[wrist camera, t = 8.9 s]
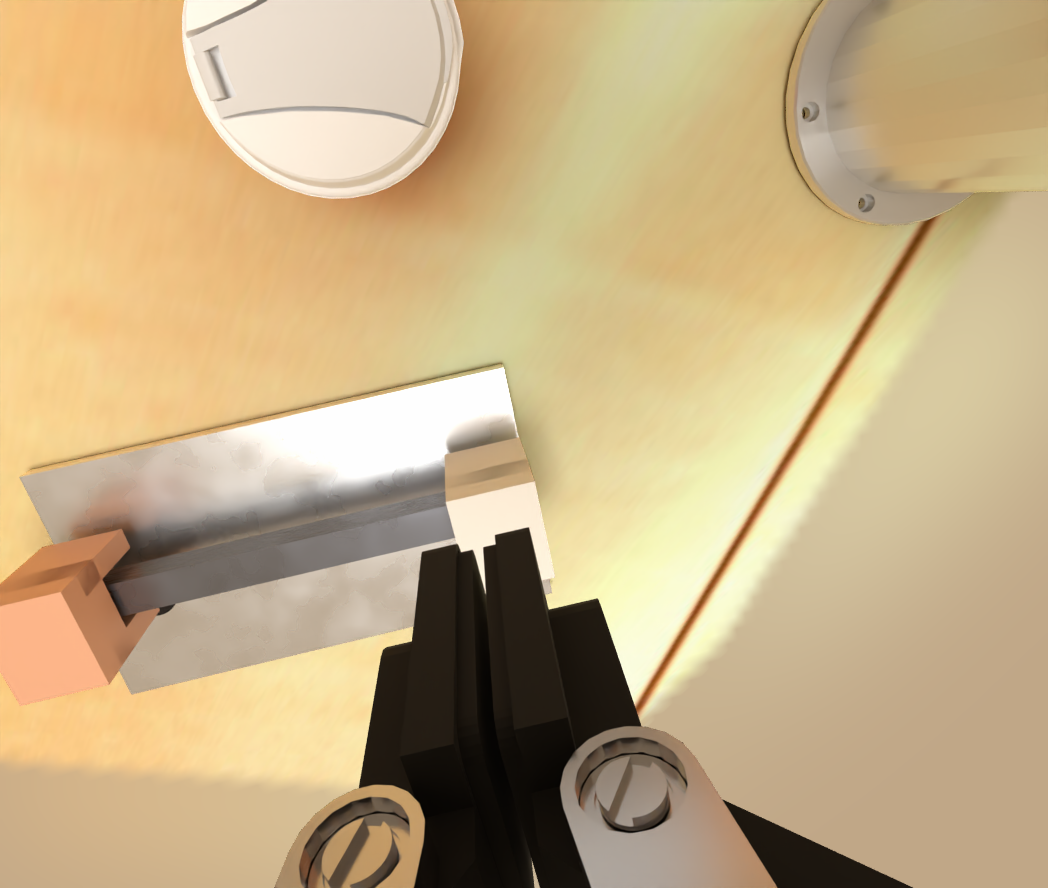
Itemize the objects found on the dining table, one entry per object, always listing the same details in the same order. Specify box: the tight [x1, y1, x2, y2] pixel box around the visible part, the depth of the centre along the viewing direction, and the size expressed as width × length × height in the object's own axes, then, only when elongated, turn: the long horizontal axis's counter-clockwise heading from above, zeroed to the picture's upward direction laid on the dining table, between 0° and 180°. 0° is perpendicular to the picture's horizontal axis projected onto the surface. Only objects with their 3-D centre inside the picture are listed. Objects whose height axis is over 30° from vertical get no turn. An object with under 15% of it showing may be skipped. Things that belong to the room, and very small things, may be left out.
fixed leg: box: [444, 437, 555, 593], centre depth 34 cm, size 4×5×7 cm
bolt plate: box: [20, 364, 552, 694], centre depth 37 cm, size 25×14×1 cm, turn 101°
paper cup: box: [182, 0, 464, 199], centre depth 24 cm, size 8×8×14 cm
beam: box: [102, 491, 455, 617], centre depth 35 cm, size 25×2×4 cm, turn 101°
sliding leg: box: [0, 529, 160, 706], centre depth 33 cm, size 4×5×7 cm
